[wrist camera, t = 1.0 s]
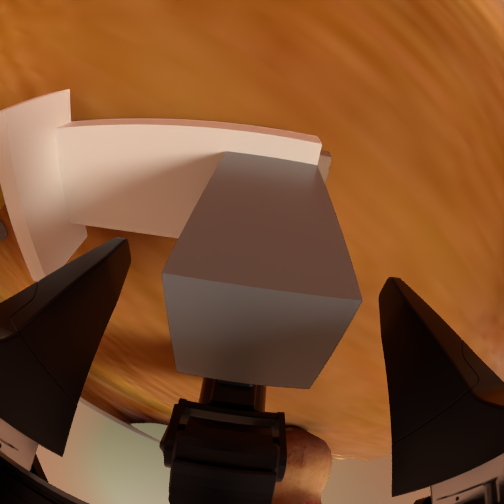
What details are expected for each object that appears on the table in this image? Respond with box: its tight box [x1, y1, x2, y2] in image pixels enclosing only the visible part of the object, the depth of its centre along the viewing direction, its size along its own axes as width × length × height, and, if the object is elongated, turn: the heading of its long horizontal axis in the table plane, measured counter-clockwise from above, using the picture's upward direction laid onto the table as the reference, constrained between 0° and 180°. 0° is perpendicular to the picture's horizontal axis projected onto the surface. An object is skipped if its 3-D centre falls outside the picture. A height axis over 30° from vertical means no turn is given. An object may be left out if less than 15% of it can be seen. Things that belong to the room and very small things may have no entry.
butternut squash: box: [272, 427, 332, 504], centre depth 29 cm, size 14×13×25 cm
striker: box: [0, 89, 363, 389], centre depth 10 cm, size 10×15×10 cm, turn 83°
